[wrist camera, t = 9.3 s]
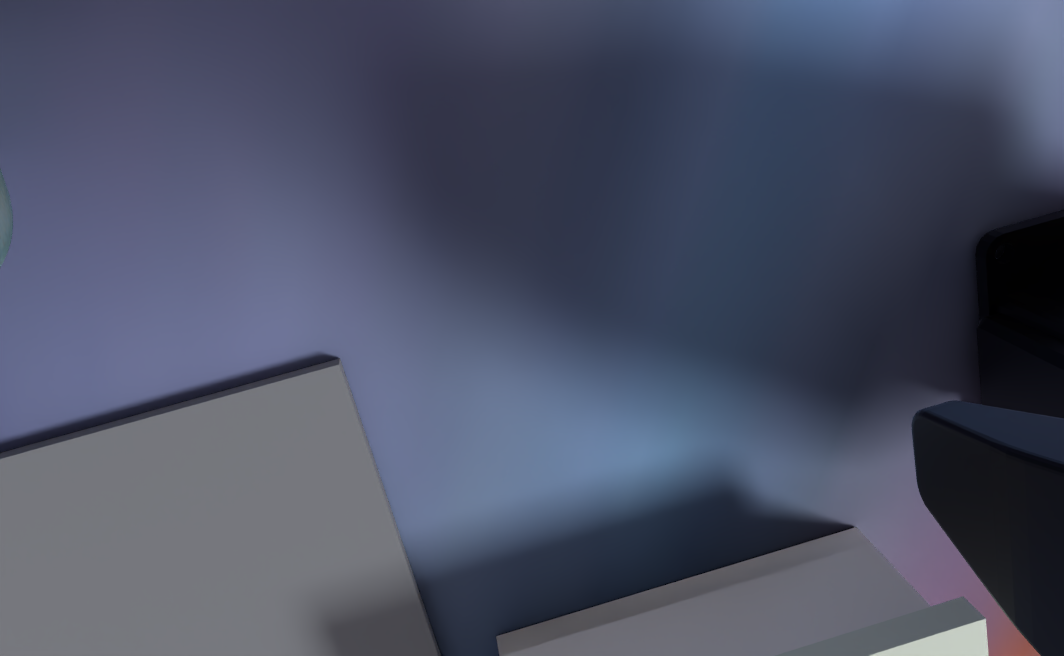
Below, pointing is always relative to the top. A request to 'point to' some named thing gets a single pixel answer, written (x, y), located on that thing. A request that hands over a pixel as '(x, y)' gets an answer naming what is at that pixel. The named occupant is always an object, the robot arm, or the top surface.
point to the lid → (912, 635)
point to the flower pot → (5, 220)
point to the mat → (209, 533)
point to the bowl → (737, 607)
